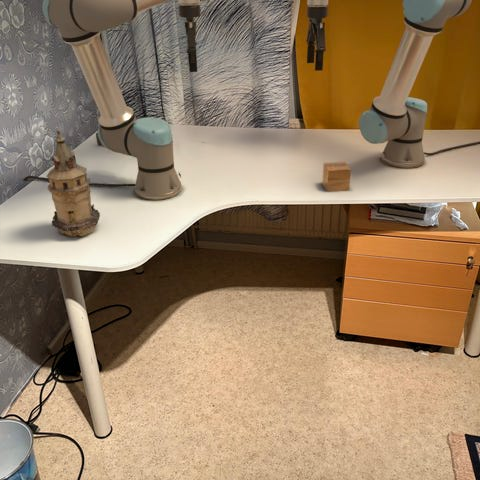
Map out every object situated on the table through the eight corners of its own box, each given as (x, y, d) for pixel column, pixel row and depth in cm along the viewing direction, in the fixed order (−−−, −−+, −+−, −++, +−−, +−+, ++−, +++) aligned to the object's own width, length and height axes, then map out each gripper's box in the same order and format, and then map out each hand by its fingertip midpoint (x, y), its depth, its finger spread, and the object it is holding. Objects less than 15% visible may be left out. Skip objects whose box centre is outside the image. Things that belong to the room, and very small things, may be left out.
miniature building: (80, 214, 164) (63, 117, 149) (111, 225, 157) (96, 125, 142) (44, 231, 154) (22, 130, 140) (75, 244, 147) (55, 139, 133)
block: (349, 190, 177) (351, 169, 173) (327, 191, 176) (328, 170, 173) (343, 182, 183) (345, 162, 179) (322, 183, 182) (323, 163, 178)
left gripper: (201, 8, 174) (204, 75, 184) (198, 0, 195) (201, 60, 206) (178, 8, 173) (182, 75, 183) (178, 0, 195) (182, 61, 205)
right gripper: (337, 9, 182) (332, 73, 193) (319, 2, 204) (316, 59, 214) (315, 10, 182) (312, 74, 192) (300, 2, 203) (298, 60, 214)
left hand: (192, 67), depth 195 cm, fingers open, 13 cm apart
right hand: (314, 66), depth 203 cm, fingers open, 13 cm apart
